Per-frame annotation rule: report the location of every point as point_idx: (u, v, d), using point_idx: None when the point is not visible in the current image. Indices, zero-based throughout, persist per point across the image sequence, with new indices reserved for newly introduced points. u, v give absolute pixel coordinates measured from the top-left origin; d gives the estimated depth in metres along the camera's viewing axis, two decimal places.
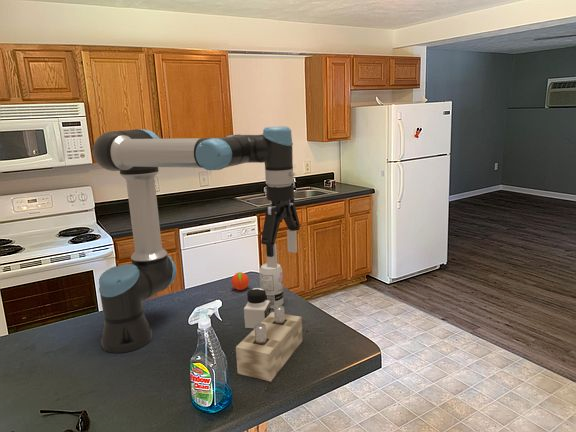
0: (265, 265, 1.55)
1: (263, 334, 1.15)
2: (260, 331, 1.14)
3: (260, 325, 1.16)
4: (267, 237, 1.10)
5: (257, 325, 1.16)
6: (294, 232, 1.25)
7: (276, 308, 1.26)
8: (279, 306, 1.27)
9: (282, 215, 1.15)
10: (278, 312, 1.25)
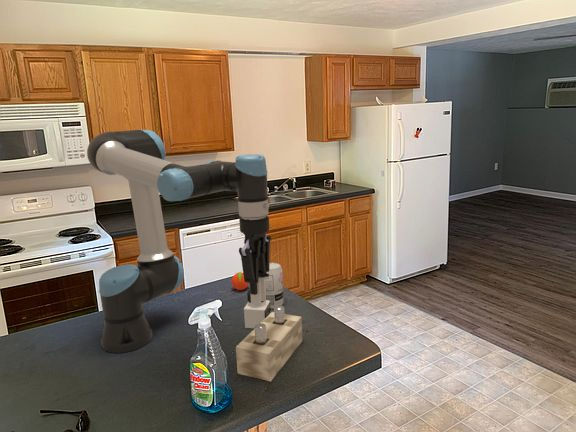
0: None
1: (263, 334, 1.15)
2: (260, 331, 1.14)
3: (260, 325, 1.16)
4: (249, 277, 1.07)
5: (257, 325, 1.16)
6: (263, 279, 1.13)
7: (276, 308, 1.26)
8: (279, 306, 1.27)
9: (258, 250, 1.08)
10: (278, 312, 1.25)
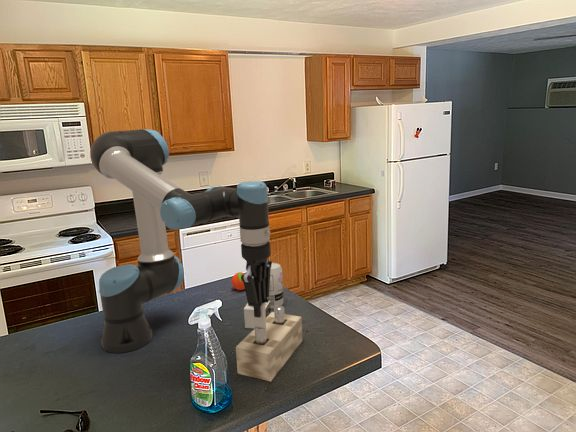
0: None
1: (263, 335, 1.15)
2: (260, 331, 1.14)
3: None
4: (253, 302, 1.10)
5: None
6: None
7: (276, 308, 1.26)
8: (279, 306, 1.27)
9: (260, 275, 1.10)
10: (278, 312, 1.25)
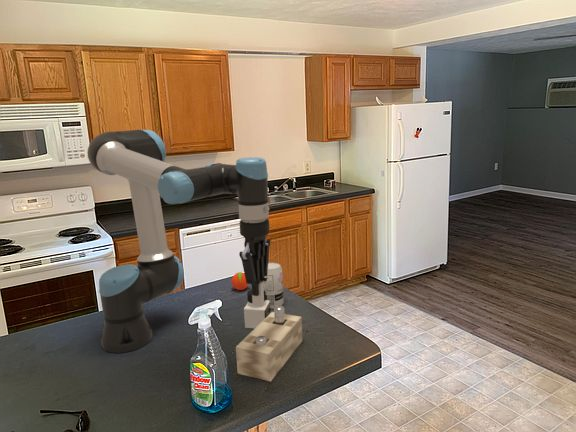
0: None
1: None
2: (261, 343, 1.15)
3: (261, 337, 1.17)
4: (251, 279, 1.09)
5: (258, 337, 1.17)
6: None
7: (276, 308, 1.26)
8: (279, 306, 1.27)
9: (259, 252, 1.09)
10: (278, 312, 1.25)
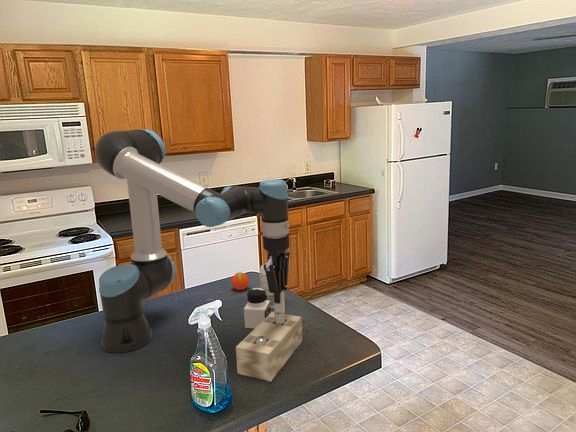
0: None
1: None
2: (261, 343, 1.15)
3: (261, 337, 1.17)
4: (273, 289, 1.21)
5: (258, 337, 1.17)
6: None
7: (276, 313, 1.26)
8: None
9: (280, 265, 1.21)
10: (278, 317, 1.25)
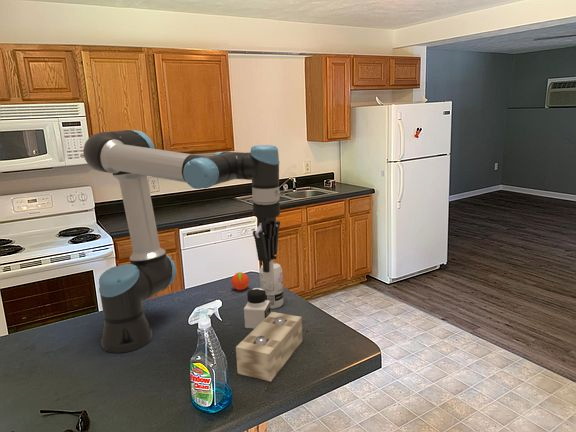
0: None
1: None
2: (261, 343, 1.15)
3: (261, 337, 1.17)
4: (262, 256, 1.19)
5: (258, 337, 1.17)
6: None
7: (277, 320, 1.27)
8: (280, 317, 1.28)
9: (270, 232, 1.19)
10: (278, 323, 1.26)
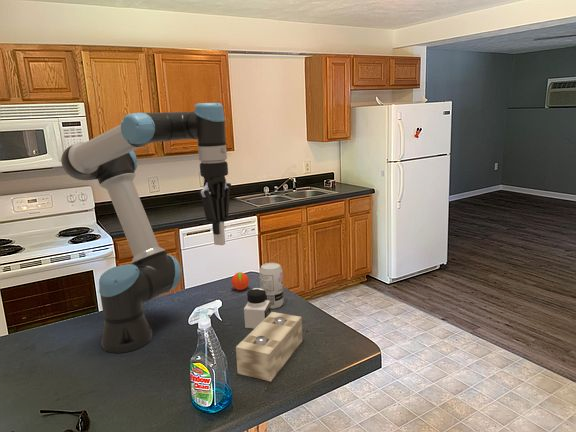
0: (265, 265, 1.55)
1: None
2: (261, 343, 1.15)
3: (261, 337, 1.17)
4: (210, 217, 1.17)
5: (258, 337, 1.17)
6: None
7: (277, 320, 1.27)
8: (280, 317, 1.28)
9: (218, 192, 1.17)
10: (278, 323, 1.26)
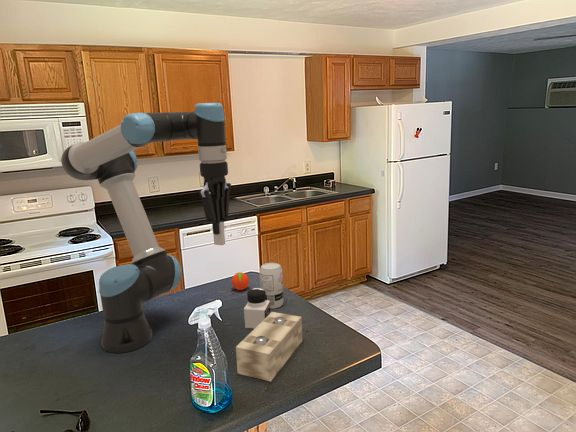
0: (265, 265, 1.55)
1: None
2: (261, 343, 1.15)
3: (261, 337, 1.17)
4: (210, 217, 1.17)
5: (258, 337, 1.17)
6: None
7: (277, 320, 1.27)
8: (280, 317, 1.28)
9: (218, 192, 1.17)
10: (278, 323, 1.26)
